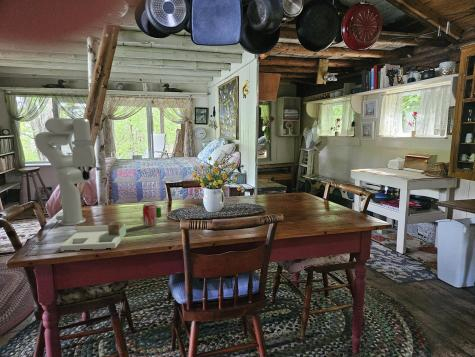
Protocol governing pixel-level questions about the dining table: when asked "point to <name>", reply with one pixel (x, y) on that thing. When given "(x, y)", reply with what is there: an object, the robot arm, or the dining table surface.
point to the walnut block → (114, 228)
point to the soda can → (149, 214)
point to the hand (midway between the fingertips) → (86, 179)
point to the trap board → (93, 238)
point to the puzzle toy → (158, 211)
